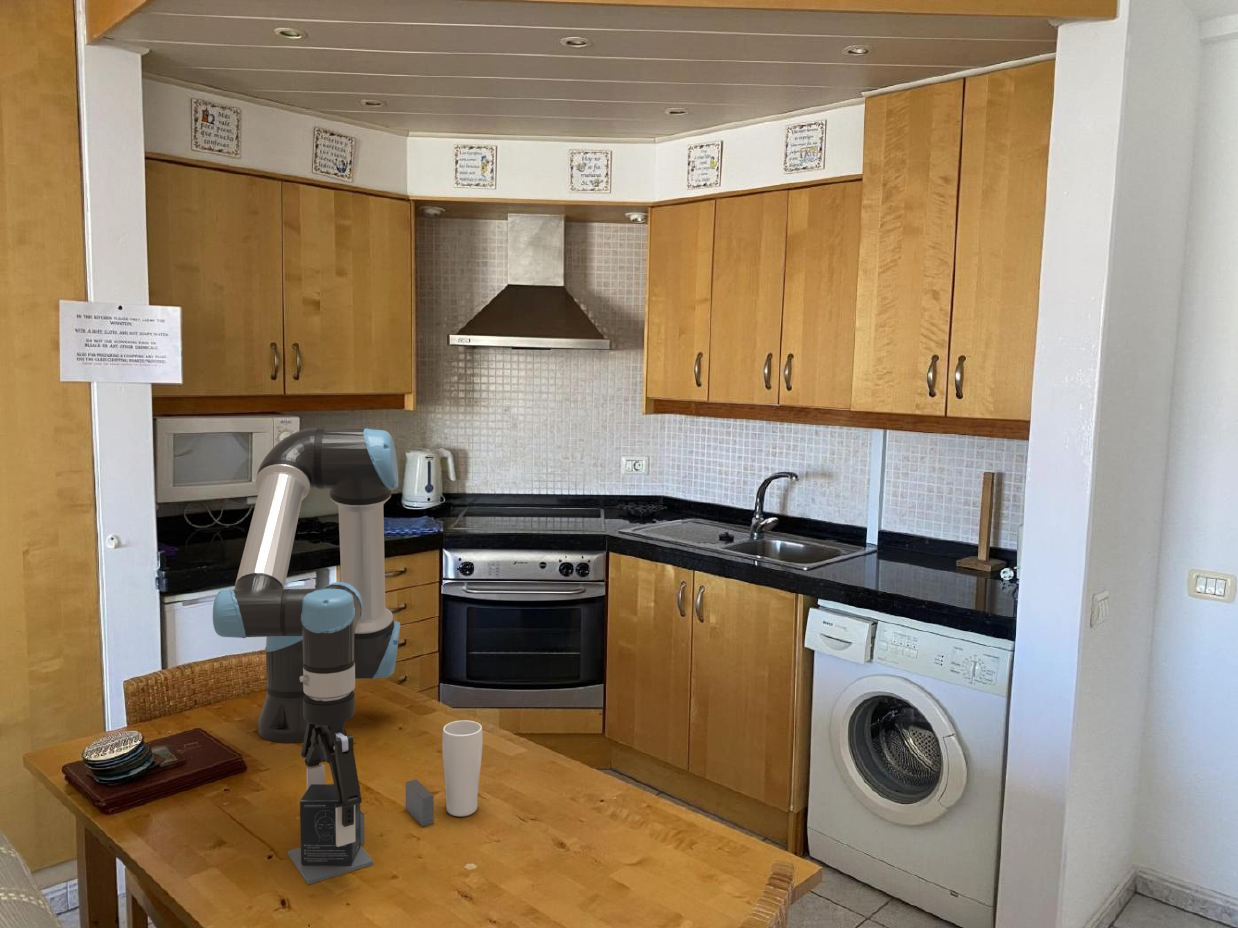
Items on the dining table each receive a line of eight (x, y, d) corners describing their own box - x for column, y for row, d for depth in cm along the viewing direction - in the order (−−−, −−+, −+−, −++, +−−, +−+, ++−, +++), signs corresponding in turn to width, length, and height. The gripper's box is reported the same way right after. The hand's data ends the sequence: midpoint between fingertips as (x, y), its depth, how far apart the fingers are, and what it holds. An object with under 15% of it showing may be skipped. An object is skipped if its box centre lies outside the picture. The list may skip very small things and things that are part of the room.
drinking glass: (473, 822, 155) (474, 737, 154) (435, 817, 157) (436, 733, 155) (487, 803, 162) (488, 721, 160) (450, 798, 163) (451, 717, 161)
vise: (308, 836, 149) (308, 807, 149) (416, 806, 160) (416, 779, 160) (322, 856, 143) (322, 826, 143) (433, 823, 154) (433, 795, 154)
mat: (287, 854, 144) (287, 850, 144) (350, 836, 150) (350, 832, 150) (308, 884, 136) (308, 880, 136) (373, 864, 142) (373, 860, 142)
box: (361, 846, 145) (360, 783, 144) (352, 866, 140) (351, 800, 139) (311, 846, 145) (310, 782, 144) (299, 865, 140) (299, 799, 138)
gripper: (279, 671, 147) (282, 796, 150) (332, 726, 127) (333, 868, 130) (326, 663, 152) (327, 784, 155) (384, 714, 132) (384, 852, 135)
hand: (330, 823), depth 142 cm, fingers open, 13 cm apart
